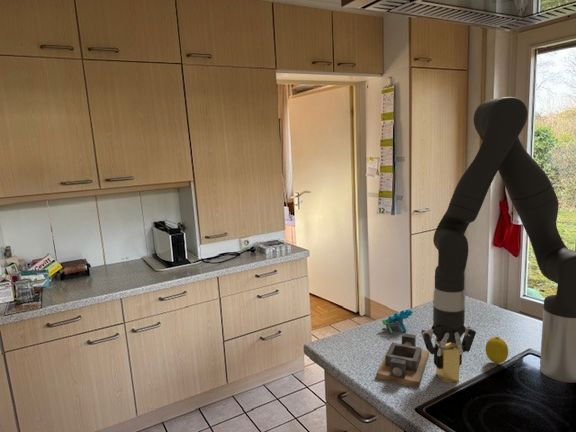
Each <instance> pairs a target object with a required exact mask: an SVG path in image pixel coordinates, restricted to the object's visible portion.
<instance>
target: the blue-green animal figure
mask: <svg viewBox="0 0 576 432" xmlns="http://www.w3.org/2000/svg"><path fill="white" fill-rule="evenodd" d="M413 313H414V312H413V310H410V309H406V310H401V311H399V313H398V312H397V313H394V314H393V316H392V315H390V316H388V317H387V319H383V320H382V324H383V326H386V328H388V329H389V330H388V331H389V332H390V334H393V333H394V331H393V329H392V327H393V326H396V325H400V327H401V330H402V331H403V333H406V332H407V329H406V327H405V325H404V320H406V319H408V318H409V317H410V316H412V315H413Z"/></svg>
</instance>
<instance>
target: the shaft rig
mask: <svg viewBox="0 0 576 432" xmlns="http://www.w3.org/2000/svg"><path fill="white" fill-rule="evenodd" d="M416 337H417V336H416V334H411V333H410V334H409V333H406V332H403V333H402V334H401V343H396V342H391V343H390V345H389V347H388V349H387V351H386V353H385V355H384V357H383V359H382V360H381V363H380V365H379V367H378V369H377V371H376V373H375V374H376V375H375V376H376V377H375V378H376V379H378V380H382V381H387V382H393V383H397V384H400V385H406V386H409V387H414V388H420V386H421V383H422V380H423V376H424V373H425V370H426V366H427V364H428V359H429V355H430V352H429V351H428V350H424V349H422V347H420V346H417V345H416V344H417V343H416V340H417V339H416Z"/></svg>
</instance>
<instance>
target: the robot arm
mask: <svg viewBox="0 0 576 432" xmlns="http://www.w3.org/2000/svg"><path fill="white" fill-rule="evenodd" d="M473 114H474V115H473V126H474V129H475V130H476V133H477V134H478V136H479V138H480V140H482V141H481V144H480V147H479V148H478V151H477V154H476V155H475V157H474V158H473V160H472V161H471V163H470V164H469V166H468V167H467V168H466V169H465V171H464V173H463V174H462V176H461V177H460V179H459V181H458V182H457V184H456V187H455V188H454V191H453V193H452V195H451V199H450V201H449V202H448V203H449V204H448V207H447V210H446V211H445V212H444V215H443V216H442V218H441V220H440V221H439V223H438V224H437V226H436V228H435V231H434V234H433V245H434V247H435V248H436V249H437V251H438V253H437V255H438V256H437V257H438V258H437V266H436V267H435V270H434V290H433V295H432V296H433V298H432V299H433V300H432V304H433V307H432V308H433V309H432V310H433V311H432V321H433V322H432V323H433V324H432V326H431V328H430V329H428V330H425V329H422V330H421V336H422V338H423V342H424V345H425V347H426V351H429V354H430V355H433V364H434V365H435V366H437V367H438V369H441V368H442V356H441V355H442V348H443V349H444V348H445V345H446V344H447V343H453V344H454V345H455V346H456V347H457V348H459V349H460V359H459V368H460V367H461V365H462V361H463V359H462V358H463V354H464V353H465V352H466V353H469V352H470V351H471V349H472V345H473V342H474V339H475V338H476V334H477V332H476V331H475V330H474V329H473V328H472V327H471V326H467V327H466V326H465V317H466V315H465V314H466V312H465V311H466V295H465V270H466V267H467V262H468V258H469V257H468V256H469V241H468V238H467V237H466V235H465V233H466V232H467V229H468V227H469V225H470V223H474V222H475V220H476V219H477V217H478V215H479V213H480V212H481V208H482V206H483V204H484V201H485V198H486V196H487V194H488V192H489V189H490V187H491V186H492V185H491V184H492V182H493V180H494V179H495V176H496V175H497V173H499V176H500V177H501V180H502V182H503V184H504V186H505V187H504V188H506V191H507V194H508V196H509V198H510V200H511V202H512V205H513V207H514V209H515V211H516V214H517V215H518V217H519V219H520V221H521V224H522V226H523V229H524V230H525V232H526V234H527V237H528V239H529V242H530V244H531V247H532V249H533V253H534V254H533V255H534V256H535V260H536V263H537V267H538V269H539V271H540V273H541V274H542V275H543V277H545V278H546V279H547V280H549V281H551V282H553V283H555V284H557V286H556V287H557V288H556V293H555V294H551V295H550V294H549V295H548V296H546V297H545V298H544V300H543V308H542V309H543V311H542V323H541V324H542V325H541V326H542V328H541V341H540V342H541V344H540V359H539V370H540V371H541V373H542V374H543V375H545V376H546V377H548V378H550V379H552V380H554V381H558V382H561V383H571V384H572V383H576V250H573V249H571V248H568V246H567V245H565V242H564V241H563V239H562V236H561V235H560V232H559V230H558V227H557V226H558V225H557V220H558V213H559V208H560V207H559V205H560V204H559V199H558V196H557V194H556V191H555V189H554V187H553V185H552V184H553V183H552V182H551V179H550V177H549V176H548V175H547V173H546V171H544V169H543V168H542V167H541V166H540V165H539V163H538V162H536V160H535V159H534V158H533V157H532V156H531V154H529V153H528V151H527V150H526V149H525V146H523V144H522V143H521V141H520V138H519V136H520V134H521V133H522V130H524V127H525V126H526V123H527V121H528V116H529V115H528V108H527V106H526V104H525V103H524V101H522V100H521V99H520V98H518V97H513V96H503V97H498V98H491V99H487V100H485V101H483V102H481V103H480V104H479V105H478V106H477V108H476V109H475V111H474V113H473ZM433 335H434V336H435V338H434V345H433V342H432V340H433ZM462 336H463V338H462ZM461 338H462V340H461Z"/></svg>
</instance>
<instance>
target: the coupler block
mask: <svg viewBox="0 0 576 432" xmlns="http://www.w3.org/2000/svg"><path fill="white" fill-rule="evenodd" d="M441 356H442V368H441V369H438V367H437V366H436V365H435V366H436V367H435V370H436V371H435V374H436V375H437V377H438V378H439V379H440V380H441V382H442V383H450V382H451V383H452V382H454V383H455V382H459V381H460V367H459V359H460V349H459V348H457V347H456V346H455V345H454V344H453V343H447V344H446V345H445V348H444V349H443V348H442V355H441Z"/></svg>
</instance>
